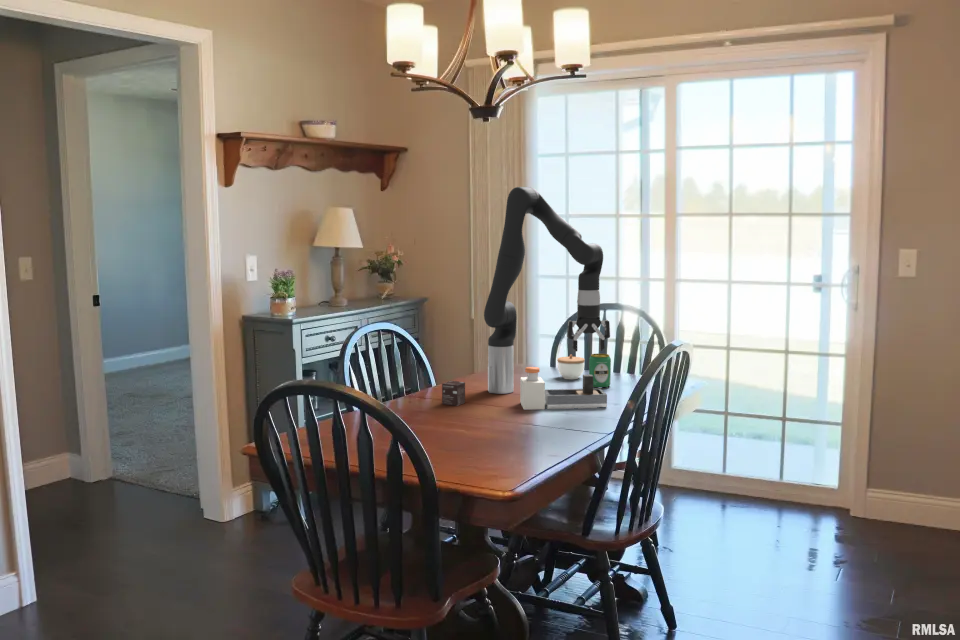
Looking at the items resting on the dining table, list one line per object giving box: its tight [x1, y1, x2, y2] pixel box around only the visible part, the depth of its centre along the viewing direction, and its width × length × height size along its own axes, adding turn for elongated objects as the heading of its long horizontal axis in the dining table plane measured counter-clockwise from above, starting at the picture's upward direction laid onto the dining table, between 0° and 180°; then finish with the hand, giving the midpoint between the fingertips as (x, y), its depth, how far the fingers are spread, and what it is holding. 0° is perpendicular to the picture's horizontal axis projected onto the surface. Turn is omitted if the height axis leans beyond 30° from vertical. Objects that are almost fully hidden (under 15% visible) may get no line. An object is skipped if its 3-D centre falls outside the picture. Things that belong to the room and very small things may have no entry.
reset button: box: [524, 366, 541, 381], centre depth 278 cm, size 5×5×5 cm
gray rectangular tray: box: [545, 388, 608, 410], centre depth 280 cm, size 20×10×4 cm, turn 94°
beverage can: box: [588, 353, 612, 388], centre depth 310 cm, size 8×8×12 cm
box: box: [441, 380, 466, 407], centre depth 283 cm, size 6×6×7 cm
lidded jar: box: [556, 354, 586, 380], centre depth 327 cm, size 11×11×9 cm
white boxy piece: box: [519, 376, 546, 410], centre depth 279 cm, size 7×10×9 cm
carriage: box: [576, 374, 599, 395], centre depth 280 cm, size 7×7×8 cm
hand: (588, 350), depth 278 cm, fingers open, 8 cm apart
